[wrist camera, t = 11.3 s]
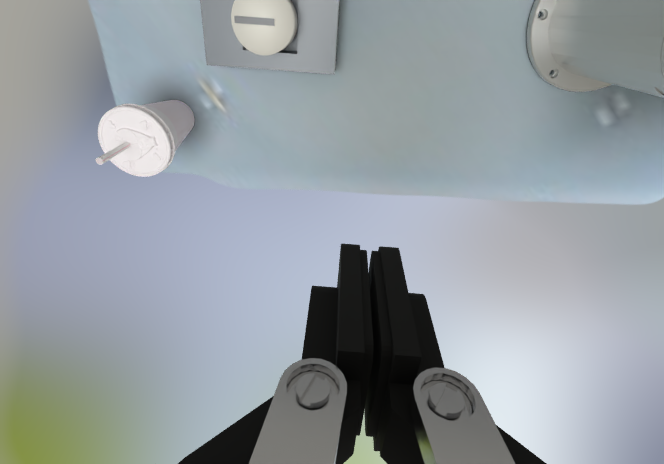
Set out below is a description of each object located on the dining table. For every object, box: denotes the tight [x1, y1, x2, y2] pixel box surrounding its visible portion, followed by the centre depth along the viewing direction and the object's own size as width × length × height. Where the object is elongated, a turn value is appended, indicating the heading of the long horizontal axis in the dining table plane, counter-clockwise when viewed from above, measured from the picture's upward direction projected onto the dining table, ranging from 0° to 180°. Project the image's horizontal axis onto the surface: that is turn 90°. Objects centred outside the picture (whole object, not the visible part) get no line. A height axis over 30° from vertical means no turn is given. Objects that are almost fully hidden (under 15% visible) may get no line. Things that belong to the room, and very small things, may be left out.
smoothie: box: [96, 100, 195, 177], centre depth 35 cm, size 6×6×14 cm
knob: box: [231, 0, 297, 55], centre depth 32 cm, size 5×5×6 cm
